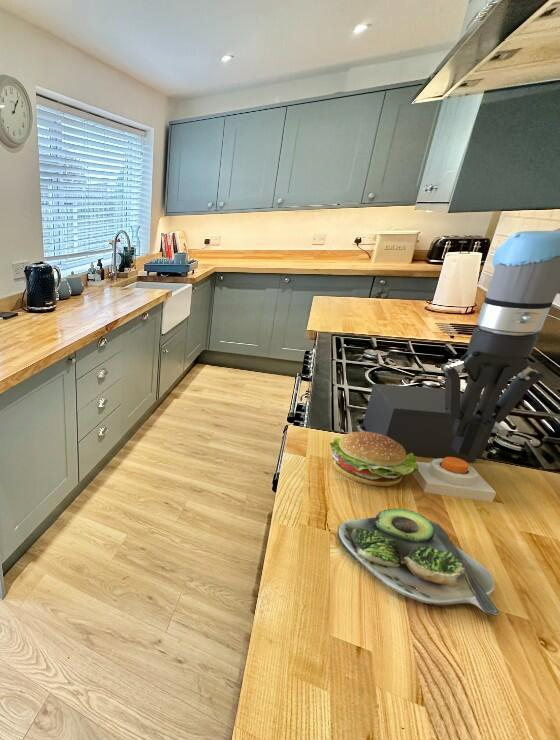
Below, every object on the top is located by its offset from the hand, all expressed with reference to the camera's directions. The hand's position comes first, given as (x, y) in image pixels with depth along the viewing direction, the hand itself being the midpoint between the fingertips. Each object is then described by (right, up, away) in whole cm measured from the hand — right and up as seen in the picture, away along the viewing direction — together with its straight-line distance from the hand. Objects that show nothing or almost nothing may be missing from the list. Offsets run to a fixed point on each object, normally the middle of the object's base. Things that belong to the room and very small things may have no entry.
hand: (459, 450), depth 78 cm
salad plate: (-21, -15, -13) cm, 29 cm away
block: (+1, -7, +3) cm, 8 cm away
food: (-11, -6, +8) cm, 15 cm away
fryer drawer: (+10, 0, +16) cm, 19 cm away
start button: (0, -4, +2) cm, 4 cm away
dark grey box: (+7, -1, +17) cm, 19 cm away
